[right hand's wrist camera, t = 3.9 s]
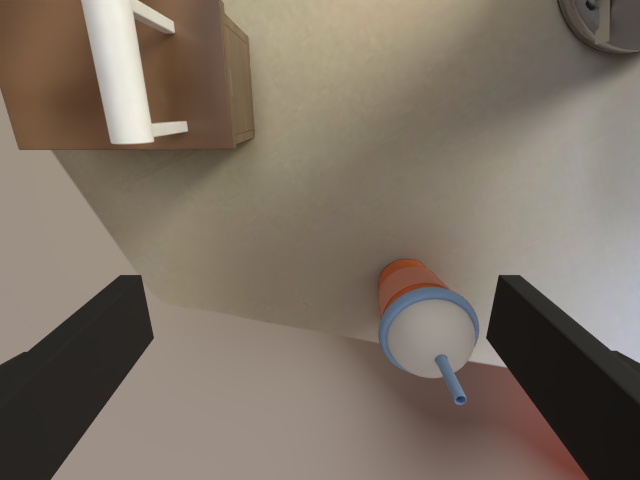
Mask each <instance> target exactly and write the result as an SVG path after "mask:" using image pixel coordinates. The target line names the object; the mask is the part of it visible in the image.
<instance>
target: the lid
mask: <svg viewBox="0 0 640 480" xmlns="http://www.w3.org/2000/svg"><path fill="white" fill-rule="evenodd" d="M0 88H1V92H2V95H3V98H4V102H5V105H6V108H7V111H8V115H9V118H10V122H11V125H12V128H13V132H14V135H15V138H16V141H17V145H18V148H19V149H20V150H151V149H235V148H236V142H235V130H234V119H233V107H232V95H231V84H230V72H229V60H228V49H227V37H226V25H225V13H224V3H223V2H222V1H221V0H0Z"/></svg>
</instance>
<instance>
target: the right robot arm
mask: <svg viewBox="0 0 640 480" xmlns="http://www.w3.org/2000/svg"><path fill="white" fill-rule="evenodd" d="M559 3H560V7H561V10H562V13H563V16H564V18H565V20H566V22H567V24H568V25H569V27H570V28H571V30H572V31H573V32H574V33H575V35H576V36H577V37H578V38H579V39H581V40H582V41H583V42H584V43H586V44H587V45H589V46H591V47H593V48H595V49H597V50H600V51H603V52H608V53H616V54H626V53H634V52H639V51H640V0H559ZM153 338H154V336H153V331H152V327H151V322H150V317H149V312H148V307H147V302H146V297H145V292H144V287H143V282H142V277H141V275H120V276H119V277H118V278H116V279H115V280H114V281H113V282H111V283H110V284H109V285H108V286H107V287H105V288H104V289H103V290H102V291H101V292H99V293H98V294H97V295H96V296H94V297H93V298H92V299H91V300H90V301H88V302H87V303H86V304H85V305H84V306H82V307H81V308H80V309H79V310H78V311H76V312H75V313H74V314H73V315H71V316H70V317H69V318H68V319H67V320H65V321H64V322H63V323H62V324H61V325H59V326H58V327H57V328H56V329H55V330H53V331H52V332H51V333H50V334H49V335H47V336H46V337H45V338H44V339H42V340H41V341H40V342H39V343H38V344H36V345H35V346H34V347H33V348H32V349H30V350H29V351H28V352H23V353H21V354H19V355H18V356H16V357H14V358H12V359H10V360H8V361H7V362H5V363H3V364H1V365H0V480H51V478H52V477H53V475H54V474H55V473H56V472H57V470H58V469H59V467H60V466H61V465H62V463H63V462H64V460H65V459H66V458H67V456H68V455H69V454H70V452H71V451H72V450H73V448H74V447H75V445H76V444H77V443H78V441H79V440H80V438H81V437H82V436H83V434H84V433H85V432H86V430H87V429H88V428H89V426H90V425H91V424H92V422H93V421H94V419H95V418H96V417H97V415H98V414H99V412H100V411H101V410H102V408H103V407H104V406H105V404H106V403H107V401H108V400H109V399H110V397H111V396H112V395H113V393H114V392H115V391H116V389H117V388H118V386H119V385H120V384H121V382H122V381H123V380H124V378H125V377H126V376H127V374H128V373H129V371H130V370H131V369H132V367H133V366H134V365H135V363H136V362H137V360H138V359H139V358H140V356H141V355H142V354H143V352H144V351H145V349H146V348H147V347H148V345H149V344H150V343H151V341H152V340H153ZM486 339H487V340H488V341H489V343H490V344H491V345H492V347H493V348H494V349H495V351H496V352H497V354H498V355H499V356H500V358H501V359H502V360H503V362H504V363H505V365H506V366H507V367H508V369H509V370H510V371H511V373H512V374H513V375H514V377H515V378H516V380H517V381H518V382H519V384H520V385H521V386H522V388H523V389H524V391H525V392H526V393H527V395H528V396H529V397H530V399H531V400H532V402H533V403H534V404H535V406H536V407H537V408H538V410H539V411H540V413H541V414H542V415H543V417H544V418H545V419H546V421H547V422H548V424H549V425H550V426H551V428H552V429H553V430H554V432H555V433H556V434H557V436H558V437H559V438H560V440H561V441H562V443H563V444H564V445H565V447H566V448H567V450H568V451H569V452H570V454H571V455H572V456H573V458H574V459H575V461H576V462H577V463H578V465H579V466H580V467H581V469H582V470H583V471H584V473H585V474H586V475H587V477H588V478H589V480H640V363H638V362H636V361H634V360H633V359H631V358H629V357H627V356H625V355H623V354H621V353H620V352H618V351H611V350H610V349H608V348H607V347H606V346H605V345H604V344H602V343H601V342H600V341H599V340H598V339H596V338H595V337H594V336H593V335H592V334H590V333H589V332H588V331H587V330H585V329H584V328H583V327H582V326H581V325H579V324H578V323H577V322H576V321H575V320H573V319H572V318H571V317H570V316H569V315H567V314H566V313H565V312H564V311H562V310H561V309H560V308H559V307H558V306H556V305H555V304H554V303H553V302H552V301H550V300H549V299H548V298H547V297H546V296H544V295H543V294H542V293H541V292H539V291H538V290H537V289H536V288H535V287H533V286H532V285H531V284H530V283H529V282H527V281H526V280H525V279H524V278H523V277H521V276H520V275H499V277H498V282H497V287H496V292H495V297H494V302H493V307H492V312H491V317H490V322H489V327H488V331H487V336H486Z"/></svg>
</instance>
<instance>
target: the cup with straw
mask: <svg viewBox="0 0 640 480" xmlns="http://www.w3.org/2000/svg"><path fill="white" fill-rule="evenodd" d="M379 307H380V316H381V321H380V325H379V341H380V345H381V348H382V350H383V352H384V354H385V355H386V357H387V358H388V359H389V360H390V361H391V362H392V363H393V364H394V365H395V366H397V367H398V368H400V369H402V370H404V371H406V372H409V373H412V374H415V375H418V376H421V377H425V378H440V377H443V378H444V380H445V382H446V384H447V387H448V389H449V391H450V393H451V395H452V398H453V400H454V402H455V403H456V404H457V405H462V404H464V403H465V402H466V401H467V398H466V396H465V394H464V392H463V390H462V388H461V386H460V384H459V382H458V380H457V378H456V376H455V374H454V372H456V371H457V370H459V369H460V368H461V367H462V366H464V364H465V363H466V362H467V361H468V359H469V358H470V356H471V354H472V352H473V349H474V347H475V345H476V343H477V340H478V335H479V323H478V319H477V315H476V313H475V311H474V309H473V308H472V306H471V305H470V303H469V302H468V301H467V300H466V299H464V298H463V297H462V296H460V295H459V294H457V293H455V292H453V291H451V290H450V289H449V288H448V287H447V286H446V285H445V284H444V283H443V282H442V281H441V280H440V279H439V278H438V277H437V276H436V275H435V274H434V273H432V272H431V271H429V270H428V269H427V268H426V267H425V266H424V265H423V264H421V263H420V262H417V261H415V260H411V259H402V260H398V261H395V262H393V263H391V264H390V265H388V266H387V267H386V268H385V269H384V270H383V272H382V273H381V276H380V278H379Z"/></svg>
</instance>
